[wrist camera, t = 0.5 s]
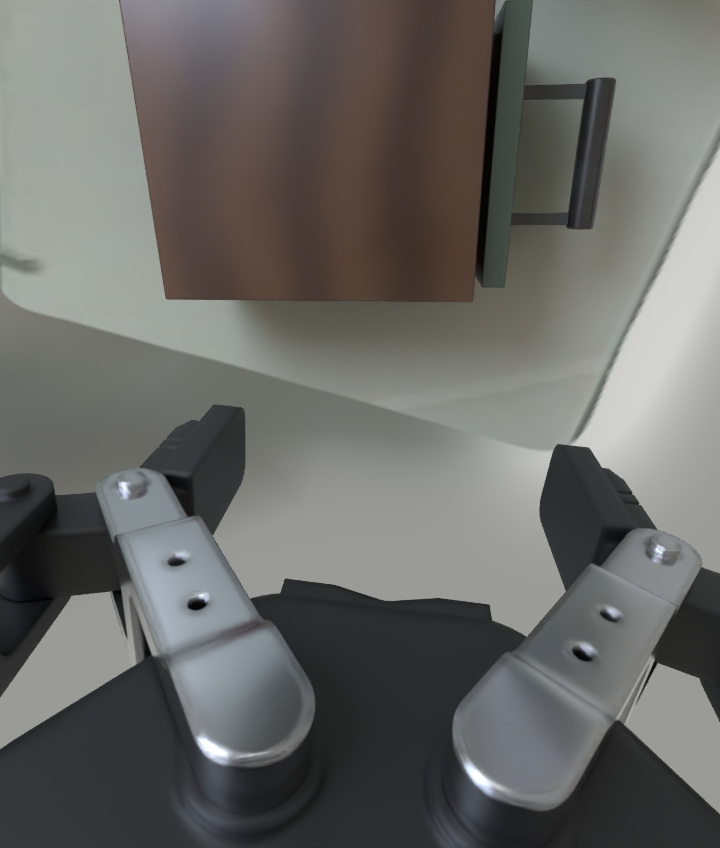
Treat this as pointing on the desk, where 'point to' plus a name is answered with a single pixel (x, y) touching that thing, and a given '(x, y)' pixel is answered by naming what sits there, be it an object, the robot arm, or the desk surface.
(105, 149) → the desk surface
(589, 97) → the drawer
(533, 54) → the desk surface
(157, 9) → the cabinet
